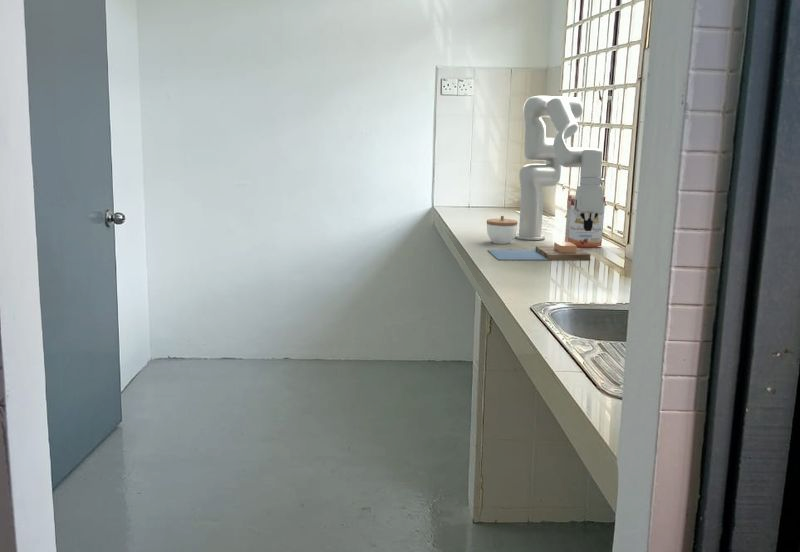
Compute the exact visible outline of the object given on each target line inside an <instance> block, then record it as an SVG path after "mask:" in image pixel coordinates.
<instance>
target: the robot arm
mask: <svg viewBox="0 0 800 552" xmlns="http://www.w3.org/2000/svg"><path fill="white" fill-rule="evenodd" d="M522 111H523V112H522V113H523V120H524V126H525V128H524V129H525V132H524V146H523V147H524V157H525V158H526V160H528V161H531V162H532V161H533V162H534V161H535V162H536V161H538V162H539V161H540V162H543V161H544V162H545V163H529V164H525V165H523V166H522V167H521V168H520V170H519V173H518V174H519V182H520V204H519V205H520V207H519V225H518V226H519V228H518V233H516V235H515V237H514V238H516V239H519V240H524V241H540V240H541V241H543V240H545V239H546V236H545V235H544V234H542V229H543V228H542V227H543V226H542V225H543V209H544V195H543V193H542V191H541V190H540V188H541V187H542V188H543V187H544V188H545V187H554V186H557V185H558V184H559V182H560V180H561V173H562V172H561V171H562V167H564V168H580V173H579V174H580V177H579V178H580V179H579V185H578V184H577V186H576V190H575V194H574V195H575V203H574V209H575V213H574V214H575V215H578V216H581V217H582V218H583V220H584V226H583V228H584V230H585V231H591V229H592V226H593V220H594V219H595V218H596V217H597V216H600V215H603V196H604V190H603V185H602V183H605V178H602V163H603V150H602V149H600V148H591V147H585V146H584V147H579V146H578V147H577V146H575V147H573V146H572V147H570V146H569V147H568V146H567V144H566V142H565V140H566V139H568V138H570V137H572V136H573V135H575V133H576V132H577V131H578V130H579V125H578V124H579V123H578V122H577V119H579V118H580V117H581V116H582V115H583V113H584V105H583V103H582V101H581V100H580V98H578V97H575V96H574V97H571V96H568V97H567V96H557V95H556V96H554V95H553V96H551V95H535V96H531V97H528V98H527V99H526V101H525V102H524V104H523V110H522ZM543 118H549V119H550V120H551V122H552V125H553V127H554V129H555V132H556V134H555V136H554V137H547V135H546V133H547V132H546V131H547V128H546V127H547V126H546V123H545V122H544V120H543ZM580 212H582V213H580ZM587 212H590V214H589V218H588V213H587ZM595 212H597V213H595Z"/></svg>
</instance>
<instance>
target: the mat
mask: <svg viewBox="0 0 800 552" xmlns="http://www.w3.org/2000/svg"><path fill="white" fill-rule="evenodd" d="M535 250H536V249H487V252H488V253H490V254H491V256H493V257H494V258H495V259H496V260H498V261H549V260H548V259H547V258H545V257H544V256H542V255H541V254H539V253H538V252H536V251H535Z"/></svg>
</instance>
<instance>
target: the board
mask: <svg viewBox="0 0 800 552" xmlns="http://www.w3.org/2000/svg"><path fill="white" fill-rule="evenodd" d="M534 250H535V251H536V252H538V253H539V254H541V255H542V256H544V257H545V258H547V259H548V260H547V261H591V253H588V251H587V252H586V251H585V250H583V249H581V247H577V250H576V252H559V251H558V250H556V249H554V245H550V246H547V245H546V246H545V245H544V246H543V245H541V246H540V245H539V246H537V245H535V249H534Z"/></svg>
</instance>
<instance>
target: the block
mask: <svg viewBox="0 0 800 552" xmlns="http://www.w3.org/2000/svg"><path fill="white" fill-rule="evenodd" d="M553 246H554V249H556V250H558V251H559V252H576V250H577V246H576V245H574V244H572V243H571V242H565V241H554V242H553Z"/></svg>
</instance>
